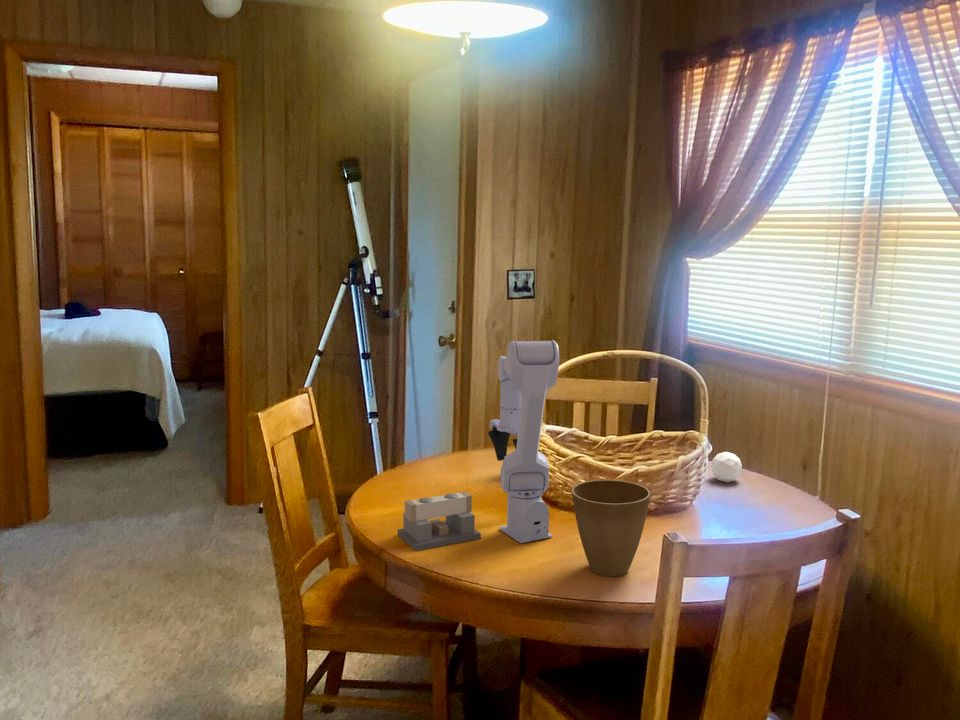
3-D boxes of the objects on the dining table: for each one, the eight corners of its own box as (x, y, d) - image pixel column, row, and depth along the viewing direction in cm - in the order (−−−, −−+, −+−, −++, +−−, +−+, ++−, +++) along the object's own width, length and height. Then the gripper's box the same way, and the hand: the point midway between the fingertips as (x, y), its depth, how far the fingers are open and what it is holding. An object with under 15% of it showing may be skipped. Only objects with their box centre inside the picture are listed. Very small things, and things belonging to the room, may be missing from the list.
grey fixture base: (459, 523, 191) (460, 502, 190) (480, 538, 182) (480, 516, 181) (397, 534, 184) (397, 512, 183) (416, 550, 175) (415, 527, 174)
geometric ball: (727, 488, 225) (742, 463, 226) (735, 487, 217) (751, 460, 218) (702, 473, 226) (717, 447, 227) (709, 471, 218) (725, 444, 219)
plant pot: (640, 554, 174) (643, 479, 171) (652, 586, 159) (656, 504, 157) (567, 553, 175) (569, 477, 172) (572, 584, 160) (574, 502, 157)
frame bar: (471, 511, 184) (471, 495, 183) (410, 522, 177) (410, 505, 177) (465, 507, 187) (465, 490, 186) (404, 517, 180) (404, 500, 179)
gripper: (479, 403, 202) (479, 459, 204) (519, 415, 190) (518, 474, 192) (503, 400, 206) (502, 454, 208) (543, 411, 194) (541, 468, 197)
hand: (511, 463), depth 201 cm, fingers open, 7 cm apart
